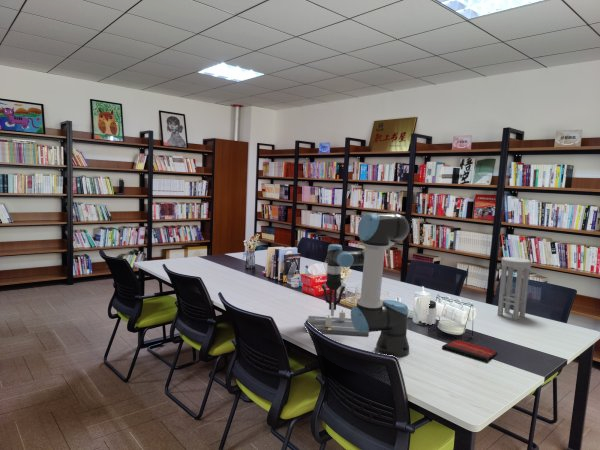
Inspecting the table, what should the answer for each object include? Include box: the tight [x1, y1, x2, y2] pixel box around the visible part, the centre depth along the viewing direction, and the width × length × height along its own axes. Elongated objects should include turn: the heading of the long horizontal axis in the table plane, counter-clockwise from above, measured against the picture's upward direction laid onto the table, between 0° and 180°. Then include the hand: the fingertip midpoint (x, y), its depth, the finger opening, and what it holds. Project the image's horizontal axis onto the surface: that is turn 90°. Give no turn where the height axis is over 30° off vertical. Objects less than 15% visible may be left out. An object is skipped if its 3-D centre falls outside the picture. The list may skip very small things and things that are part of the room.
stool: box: [497, 256, 532, 321], centre depth 254 cm, size 16×16×35 cm
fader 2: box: [338, 309, 346, 321], centre depth 228 cm, size 4×3×5 cm
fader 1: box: [325, 314, 333, 327], centre depth 219 cm, size 4×3×5 cm
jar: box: [426, 299, 437, 326], centre depth 237 cm, size 9×8×12 cm
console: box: [305, 315, 370, 337], centre depth 224 cm, size 21×32×2 cm, turn 85°
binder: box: [441, 339, 498, 364], centre depth 199 cm, size 16×2×21 cm
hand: (332, 315), depth 228 cm, fingers closed
